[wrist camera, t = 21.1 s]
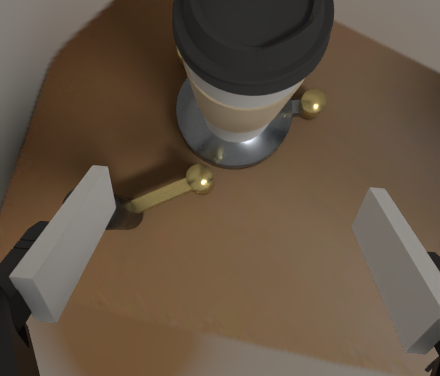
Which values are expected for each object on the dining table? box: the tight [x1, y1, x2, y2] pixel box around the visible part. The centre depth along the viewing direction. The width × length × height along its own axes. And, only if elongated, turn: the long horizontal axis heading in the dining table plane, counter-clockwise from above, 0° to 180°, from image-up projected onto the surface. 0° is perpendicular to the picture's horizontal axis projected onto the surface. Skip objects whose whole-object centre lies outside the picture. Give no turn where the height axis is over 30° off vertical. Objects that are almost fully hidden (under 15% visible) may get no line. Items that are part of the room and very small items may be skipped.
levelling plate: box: [176, 46, 326, 169], centre depth 30 cm, size 16×12×2 cm
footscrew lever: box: [63, 164, 214, 230], centre depth 25 cm, size 11×3×10 cm, turn 113°
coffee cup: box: [172, 0, 334, 142], centre depth 22 cm, size 9×9×15 cm
